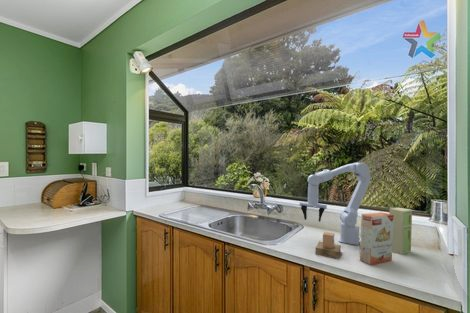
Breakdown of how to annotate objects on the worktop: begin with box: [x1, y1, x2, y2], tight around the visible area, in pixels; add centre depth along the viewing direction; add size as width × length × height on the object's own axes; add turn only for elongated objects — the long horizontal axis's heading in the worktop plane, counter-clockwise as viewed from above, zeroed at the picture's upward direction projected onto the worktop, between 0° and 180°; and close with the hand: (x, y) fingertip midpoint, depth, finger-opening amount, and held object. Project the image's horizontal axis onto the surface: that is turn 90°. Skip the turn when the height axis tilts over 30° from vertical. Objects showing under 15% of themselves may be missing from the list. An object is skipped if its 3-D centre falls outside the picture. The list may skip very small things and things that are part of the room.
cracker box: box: [359, 211, 394, 266], centre depth 107 cm, size 14×6×21 cm, turn 114°
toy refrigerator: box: [388, 207, 413, 255], centre depth 119 cm, size 8×7×21 cm
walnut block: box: [315, 240, 342, 259], centre depth 115 cm, size 10×10×3 cm
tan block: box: [322, 231, 335, 249], centre depth 115 cm, size 5×5×6 cm
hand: (312, 220), depth 134 cm, fingers open, 7 cm apart
